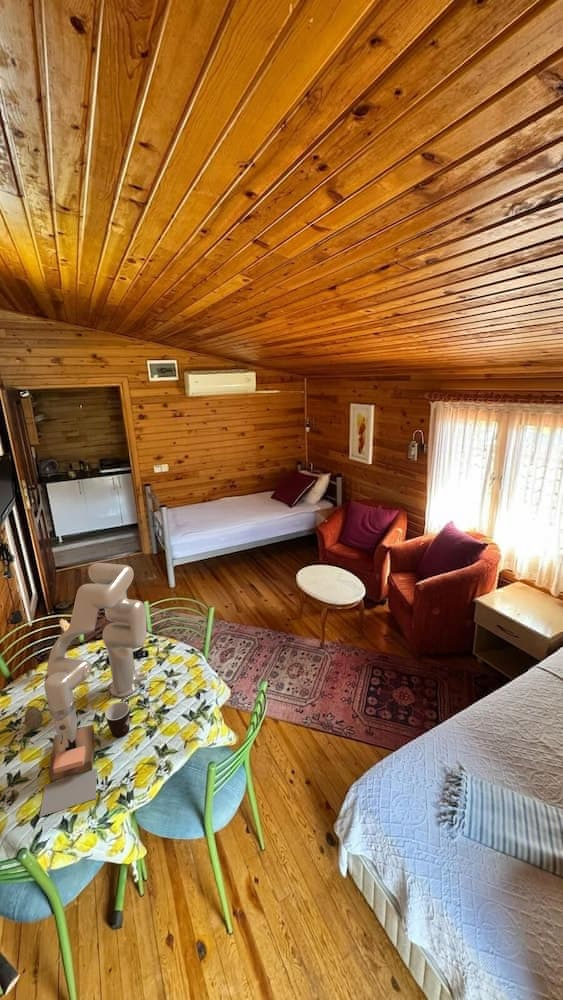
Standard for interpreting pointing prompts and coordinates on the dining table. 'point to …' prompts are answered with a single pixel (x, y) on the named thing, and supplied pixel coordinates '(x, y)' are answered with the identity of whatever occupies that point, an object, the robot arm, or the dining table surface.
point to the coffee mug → (118, 718)
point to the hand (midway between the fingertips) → (71, 748)
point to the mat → (69, 792)
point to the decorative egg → (33, 718)
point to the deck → (82, 739)
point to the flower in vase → (64, 628)
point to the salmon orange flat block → (69, 759)
